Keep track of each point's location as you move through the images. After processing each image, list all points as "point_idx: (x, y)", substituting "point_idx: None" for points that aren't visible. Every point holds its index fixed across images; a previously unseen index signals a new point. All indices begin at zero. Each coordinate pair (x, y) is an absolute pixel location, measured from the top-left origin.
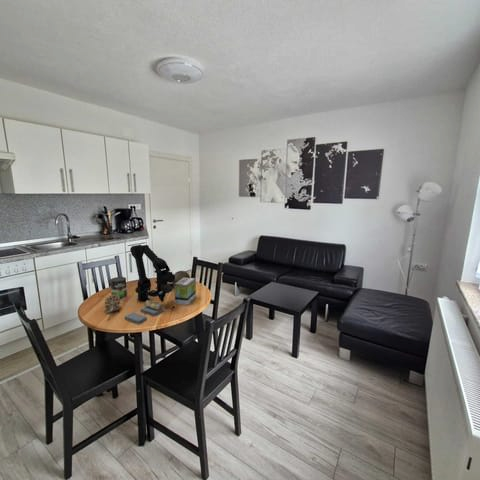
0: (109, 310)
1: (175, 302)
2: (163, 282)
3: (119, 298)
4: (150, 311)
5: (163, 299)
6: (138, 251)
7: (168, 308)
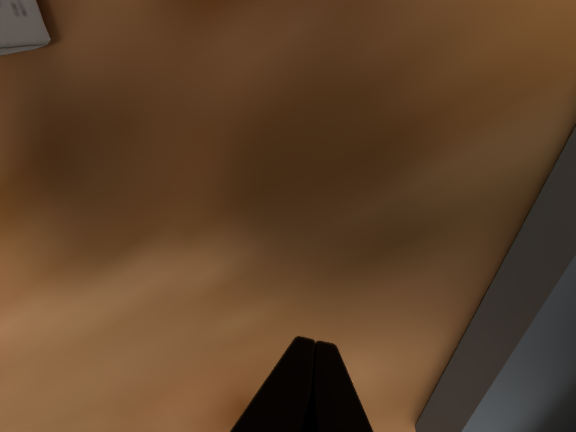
0: None
1: (12, 16)
2: None
3: None
4: None
5: (287, 400)
6: None
7: (391, 42)
